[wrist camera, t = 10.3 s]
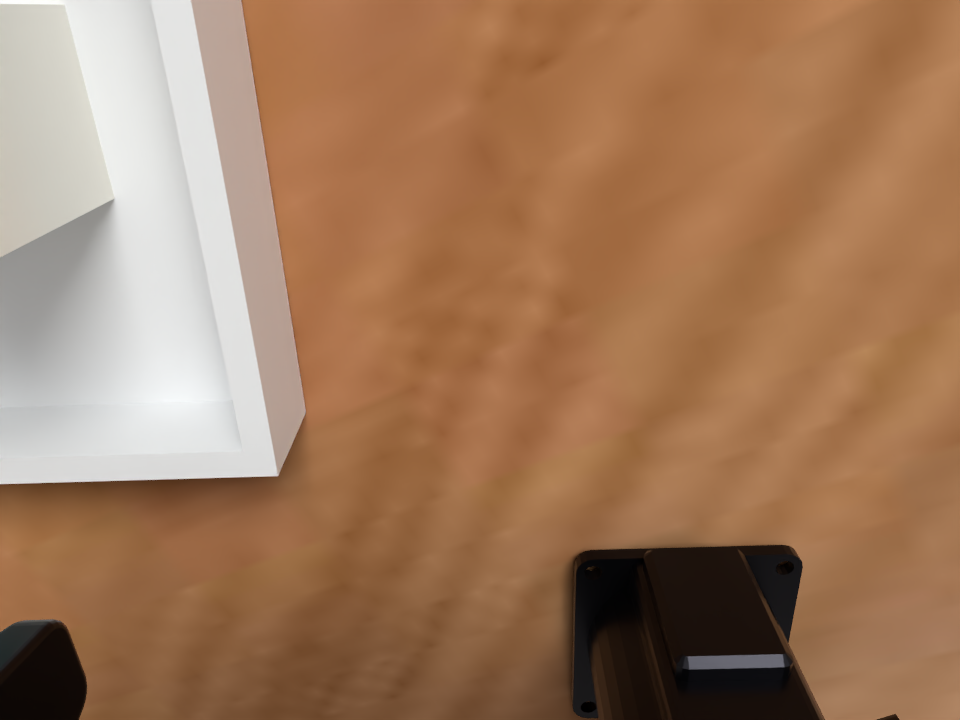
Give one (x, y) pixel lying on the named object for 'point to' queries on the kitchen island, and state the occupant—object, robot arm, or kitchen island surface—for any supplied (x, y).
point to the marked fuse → (44, 127)
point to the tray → (155, 271)
